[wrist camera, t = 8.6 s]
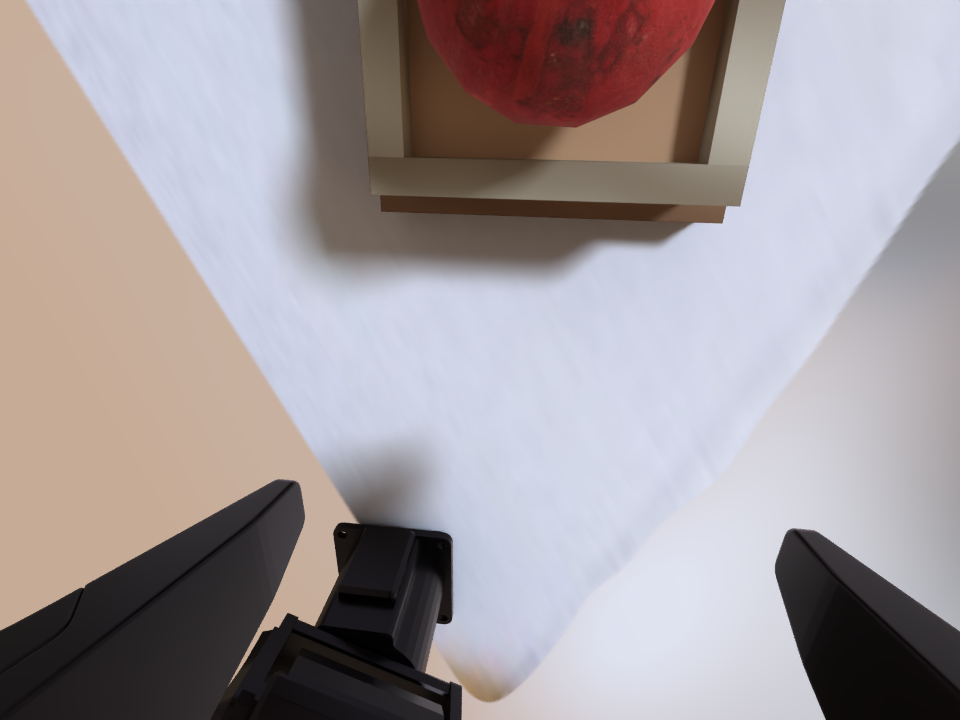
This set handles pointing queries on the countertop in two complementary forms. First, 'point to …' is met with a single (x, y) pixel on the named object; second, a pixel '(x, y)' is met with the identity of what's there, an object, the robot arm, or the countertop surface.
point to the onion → (560, 52)
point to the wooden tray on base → (566, 130)
